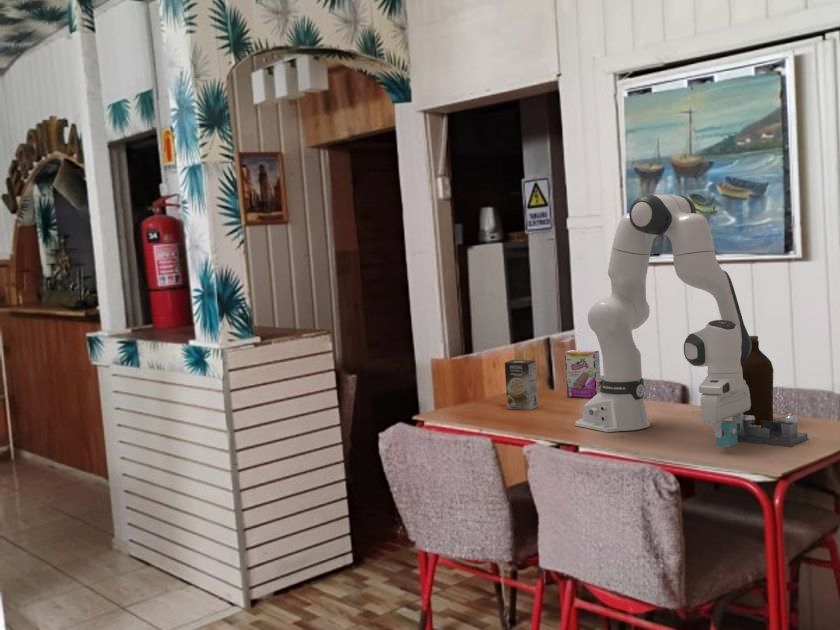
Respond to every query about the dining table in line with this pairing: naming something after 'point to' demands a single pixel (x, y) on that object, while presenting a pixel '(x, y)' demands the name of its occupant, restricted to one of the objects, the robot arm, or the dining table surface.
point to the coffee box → (521, 384)
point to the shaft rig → (771, 431)
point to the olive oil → (759, 383)
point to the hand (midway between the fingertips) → (728, 433)
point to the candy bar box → (582, 373)
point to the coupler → (728, 434)
